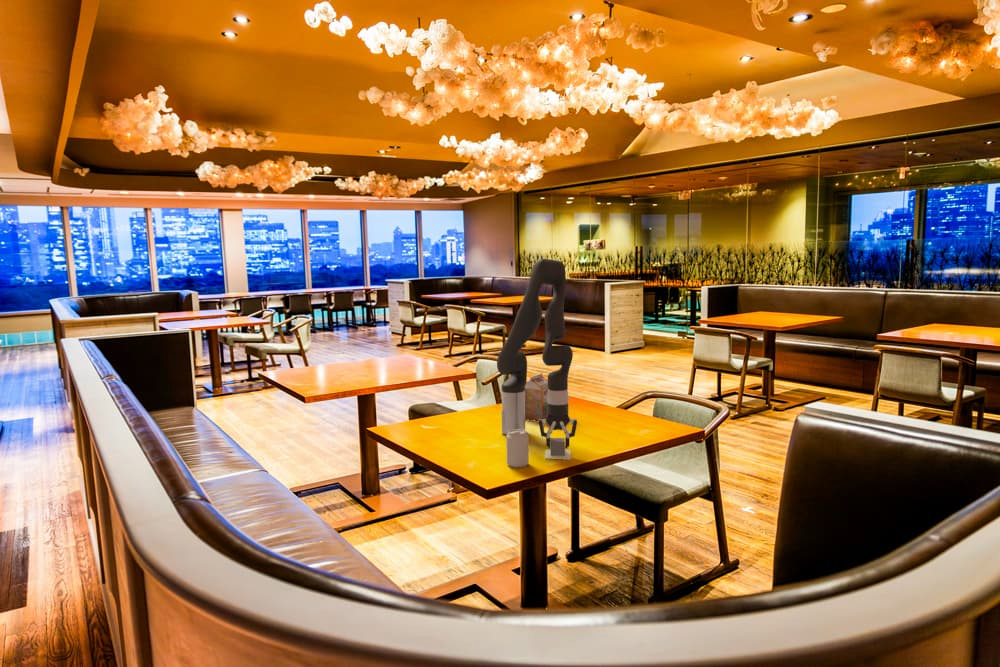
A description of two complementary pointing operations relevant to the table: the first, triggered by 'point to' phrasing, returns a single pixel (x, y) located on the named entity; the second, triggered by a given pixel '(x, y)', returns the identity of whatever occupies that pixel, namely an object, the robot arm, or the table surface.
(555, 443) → the cube
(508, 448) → the can
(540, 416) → the milk carton
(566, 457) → the mat
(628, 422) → the table surface
